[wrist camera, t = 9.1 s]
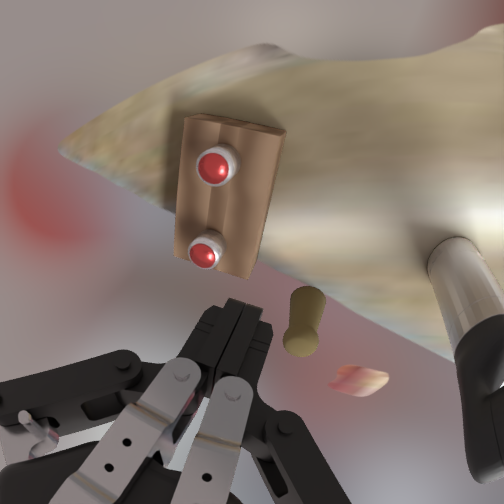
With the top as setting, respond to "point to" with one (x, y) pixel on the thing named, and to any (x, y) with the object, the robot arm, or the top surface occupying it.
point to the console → (227, 189)
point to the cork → (304, 321)
